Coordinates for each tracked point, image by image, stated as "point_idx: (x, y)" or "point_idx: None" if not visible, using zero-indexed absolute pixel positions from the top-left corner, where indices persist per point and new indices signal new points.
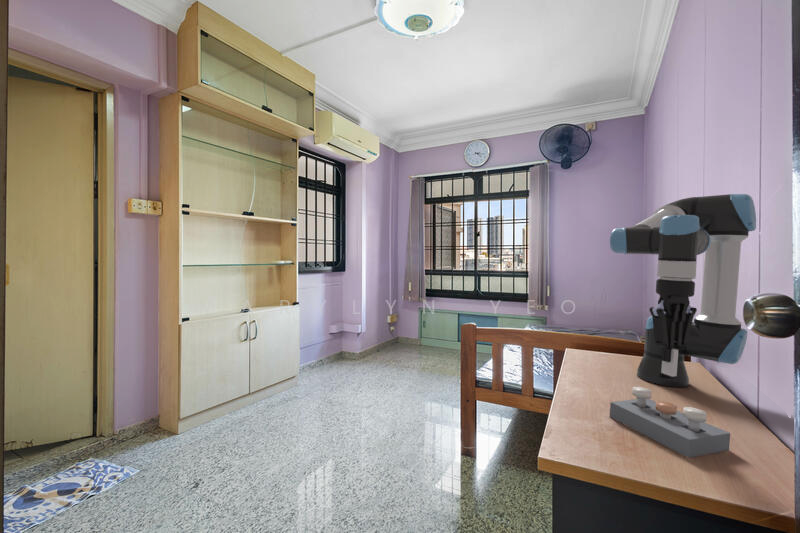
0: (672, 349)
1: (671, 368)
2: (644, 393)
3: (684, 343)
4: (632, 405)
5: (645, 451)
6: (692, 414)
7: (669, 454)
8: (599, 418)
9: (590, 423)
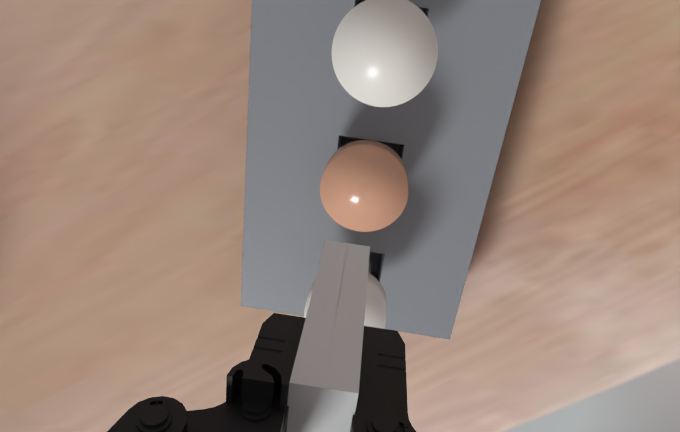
0: (374, 405)
1: (366, 285)
2: (374, 291)
3: (167, 424)
4: (392, 286)
5: (621, 86)
6: (436, 39)
7: (556, 32)
8: (490, 308)
9: (570, 298)
